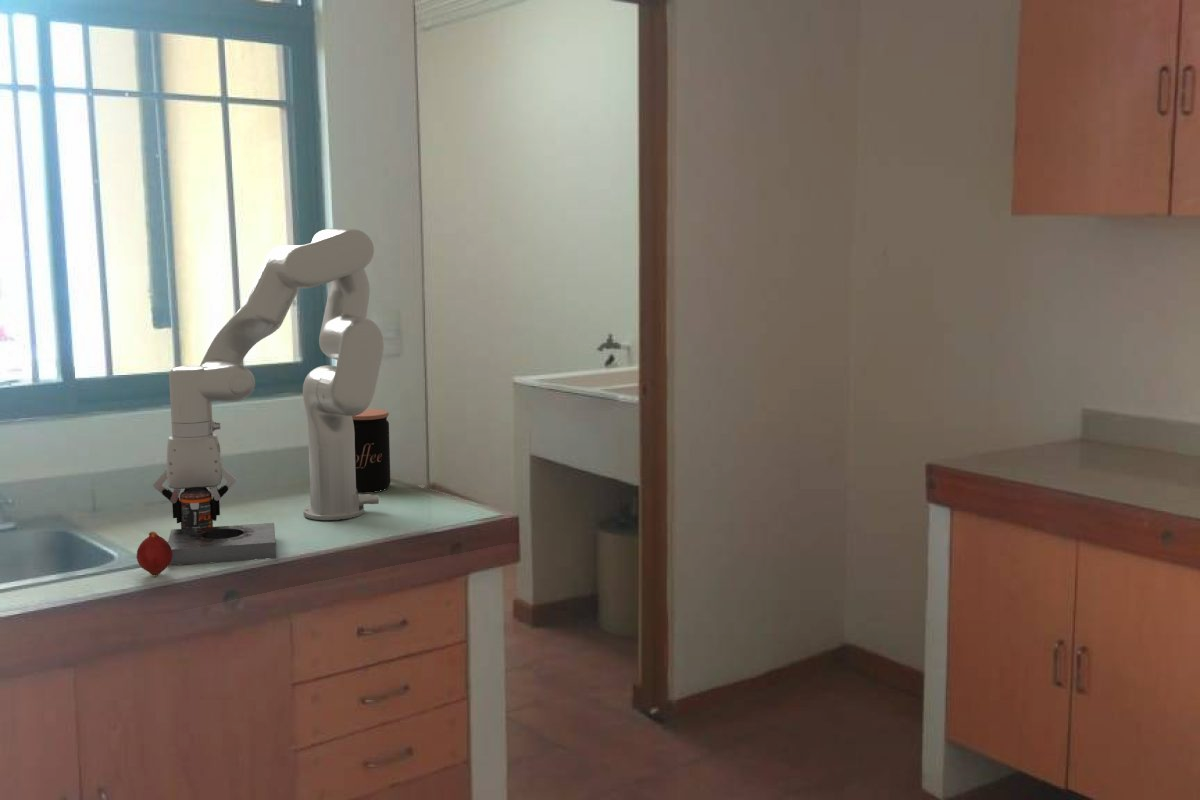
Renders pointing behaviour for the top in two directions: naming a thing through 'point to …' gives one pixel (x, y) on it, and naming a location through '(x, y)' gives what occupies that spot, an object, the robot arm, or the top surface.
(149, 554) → the onion
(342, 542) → the top surface
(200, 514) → the supplement bottle
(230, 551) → the jig plate
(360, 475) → the coffee jar
